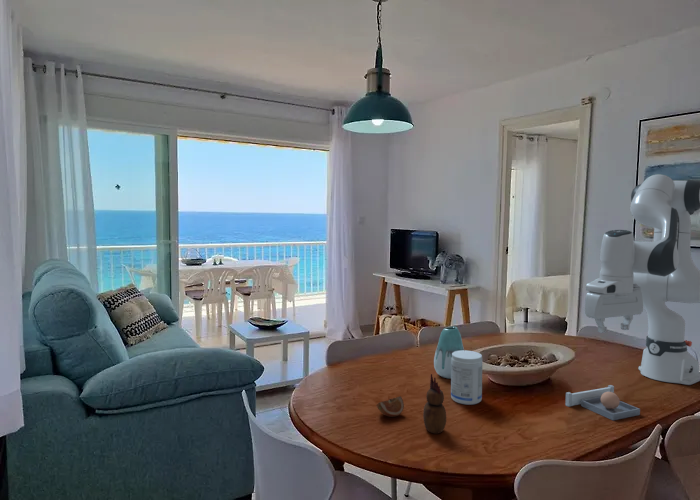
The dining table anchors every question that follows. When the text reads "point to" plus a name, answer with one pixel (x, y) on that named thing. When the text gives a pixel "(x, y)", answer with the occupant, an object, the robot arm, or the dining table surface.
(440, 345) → the vase
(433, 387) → the wooden figurine
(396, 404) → the fruit slice
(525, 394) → the dining table surface
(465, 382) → the supplement tub
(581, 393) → the wall
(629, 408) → the dish
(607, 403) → the ball
